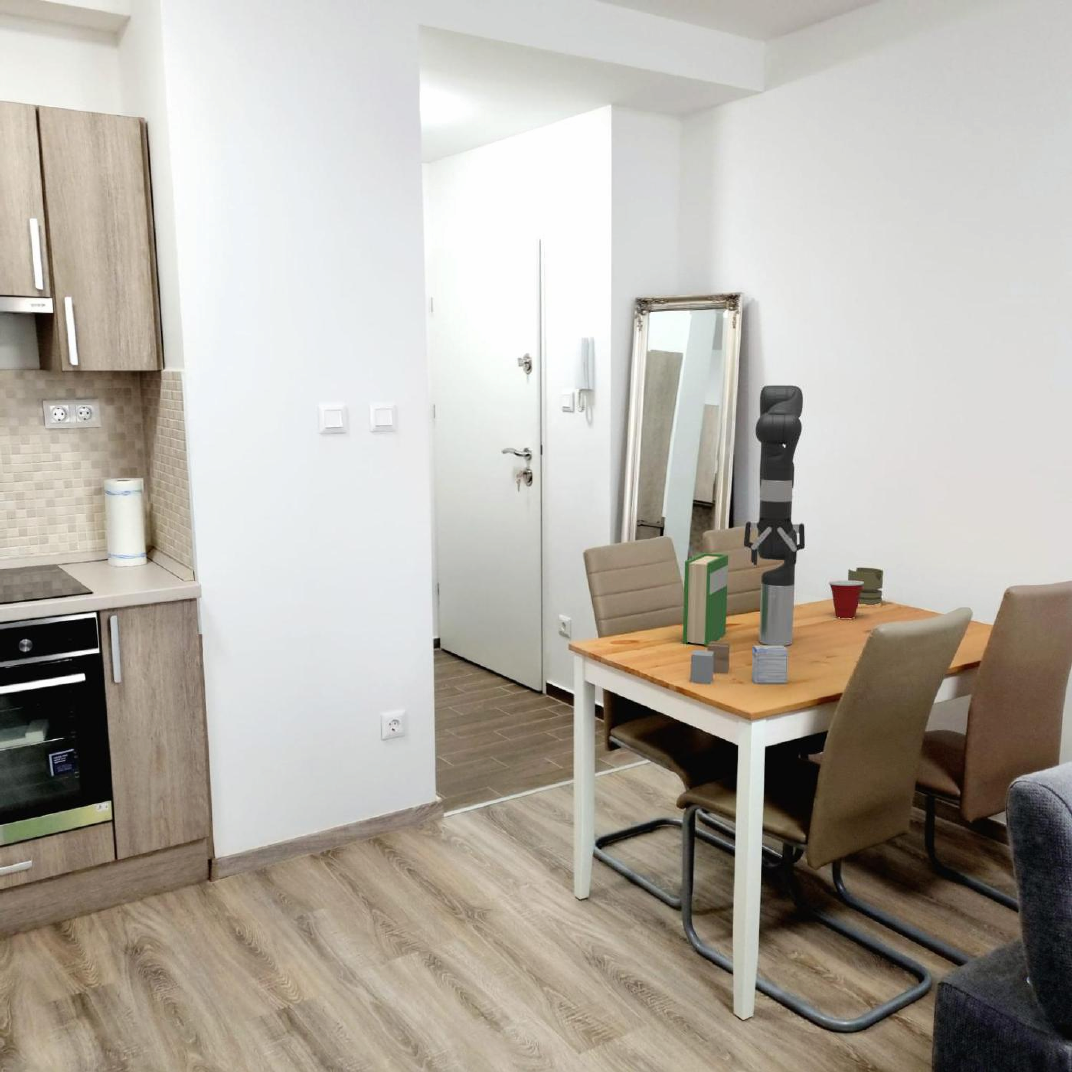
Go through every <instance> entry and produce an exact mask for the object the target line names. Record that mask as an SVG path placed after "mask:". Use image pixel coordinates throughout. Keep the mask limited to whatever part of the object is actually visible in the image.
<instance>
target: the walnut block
mask: <svg viewBox="0 0 1072 1072" xmlns="http://www.w3.org/2000/svg"><path fill="white" fill-rule="evenodd" d="M730 647H731V645H730V641H729V642H726V641H725V642H724V641H716V642H715V641H710V642H709V645H708V647H707V651H713V652H714V660H713V674H715V673H716V674H725V675H726V674H727V675H728V672H729V669H730Z"/></svg>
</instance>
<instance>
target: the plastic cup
mask: <svg viewBox="0 0 1072 1072" xmlns="http://www.w3.org/2000/svg"><path fill="white" fill-rule="evenodd" d="M828 584H829V586H830V589H831V590H830V591H831V595H832V601H833V608H834V614H835V615H834V616H835V617H836V616H837V617H840V618H853V617H855V618H856V613H857V609H858V608H859V607H858V602H859V597H860V592H861V589H862V585H863V584H864V582H862V581H848V580H832V581H829V582H828Z"/></svg>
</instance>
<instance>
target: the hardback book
mask: <svg viewBox="0 0 1072 1072" xmlns="http://www.w3.org/2000/svg"><path fill="white" fill-rule="evenodd" d="M728 572H729V554H721V553H709V552H708V553H707V552H703V553H701V554H698V555H696V556H693V557H692V558H688V559H686V560H685V561H684V592H683V618H682V619H683V623H682V624H683V625H682V627H683V628H682V645H683V644H686V645H688V644H689V643H688V642H690V643H691V644H699V645H704V648H708V645H709V642H710V641H715V642H719V640H720V638H721V639H722V638H723V637H725V636H726V634H727V630H726V629H727V609H728V608H727V606H728V605H727V604H728V603H727V602H728V601H727V599H728V576H729V575H728ZM724 635H725V636H724ZM687 643H688V644H687Z"/></svg>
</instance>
